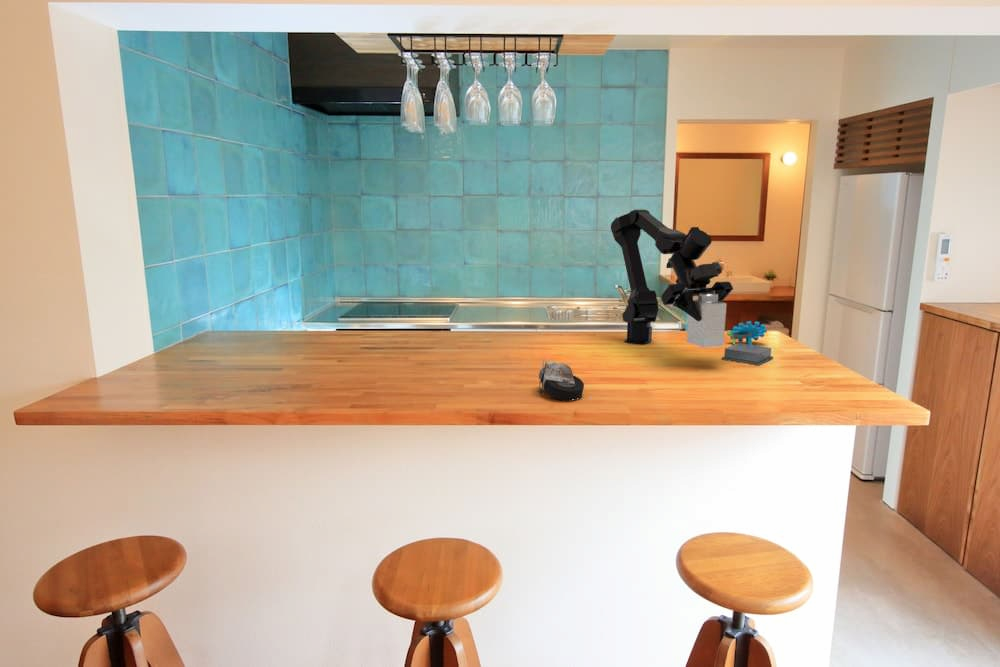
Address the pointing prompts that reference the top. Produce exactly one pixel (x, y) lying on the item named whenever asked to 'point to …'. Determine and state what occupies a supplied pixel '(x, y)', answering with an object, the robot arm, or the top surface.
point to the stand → (748, 354)
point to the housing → (707, 322)
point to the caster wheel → (560, 381)
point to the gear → (747, 332)
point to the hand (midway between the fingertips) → (709, 319)
